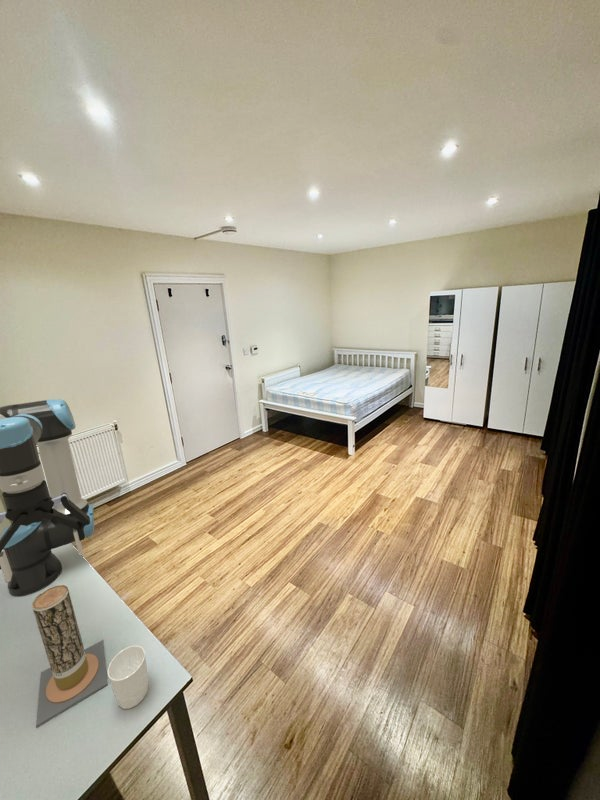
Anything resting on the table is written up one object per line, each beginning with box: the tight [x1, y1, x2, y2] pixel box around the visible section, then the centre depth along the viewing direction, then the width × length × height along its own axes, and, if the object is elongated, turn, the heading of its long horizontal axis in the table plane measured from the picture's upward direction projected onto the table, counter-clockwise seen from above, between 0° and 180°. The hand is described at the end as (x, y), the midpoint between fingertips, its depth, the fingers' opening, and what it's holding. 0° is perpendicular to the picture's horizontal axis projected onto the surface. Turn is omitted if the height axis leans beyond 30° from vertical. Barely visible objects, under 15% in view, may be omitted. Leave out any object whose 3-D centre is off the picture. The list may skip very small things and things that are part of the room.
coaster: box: [35, 639, 109, 728], centre depth 79 cm, size 14×14×1 cm
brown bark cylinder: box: [31, 584, 88, 689], centre depth 76 cm, size 7×7×25 cm
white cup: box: [107, 645, 150, 710], centre depth 74 cm, size 8×8×10 cm
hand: (46, 564), depth 74 cm, fingers open, 13 cm apart
